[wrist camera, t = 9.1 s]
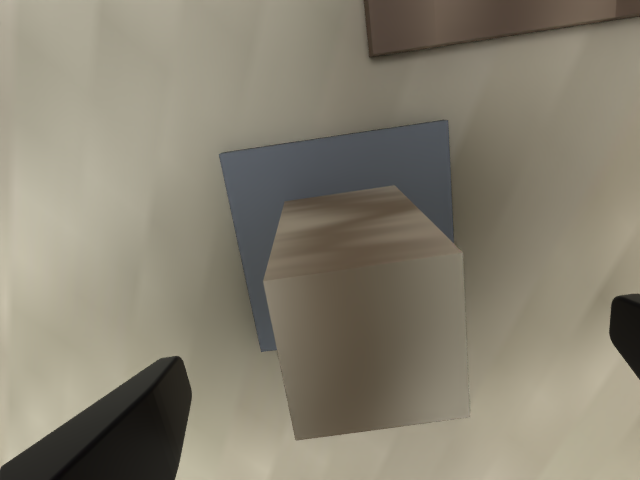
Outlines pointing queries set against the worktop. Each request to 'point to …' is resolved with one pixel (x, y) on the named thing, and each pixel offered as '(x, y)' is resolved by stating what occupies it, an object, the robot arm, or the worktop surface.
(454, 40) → the walnut collar
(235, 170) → the rubber mat
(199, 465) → the worktop surface
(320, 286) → the beech block
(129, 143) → the worktop surface
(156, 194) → the worktop surface
